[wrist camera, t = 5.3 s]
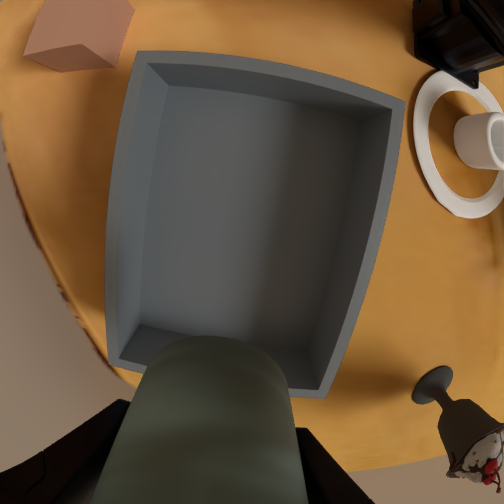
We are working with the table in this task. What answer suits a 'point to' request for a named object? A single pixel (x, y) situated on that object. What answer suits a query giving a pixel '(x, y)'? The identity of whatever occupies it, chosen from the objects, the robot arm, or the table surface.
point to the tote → (246, 209)
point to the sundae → (464, 430)
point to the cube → (79, 34)
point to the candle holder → (463, 144)
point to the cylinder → (206, 431)
